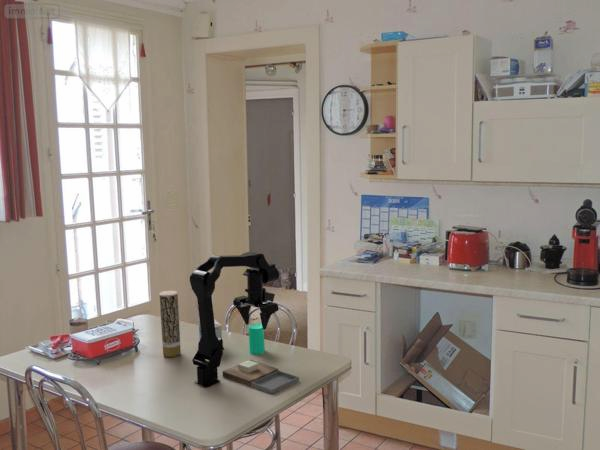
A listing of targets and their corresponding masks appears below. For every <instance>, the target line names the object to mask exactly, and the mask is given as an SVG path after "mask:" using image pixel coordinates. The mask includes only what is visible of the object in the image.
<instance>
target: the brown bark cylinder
mask: <svg viewBox="0 0 600 450" xmlns="http://www.w3.org/2000/svg"><path fill="white" fill-rule="evenodd" d="M178 293H179V292H178V291H177V290H164V291H160V292H159V307H160V323H161V324H160V326H161V340H162V341H161V344H162V355H163V356H164V357H165V358H174V357H178V356H180V355H181V351H182V350H181V348H182V347H181V334H180V333H181V331H180V330H181V329H180V314H179V296H178V295H179V294H178Z"/></svg>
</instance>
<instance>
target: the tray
mask: <svg viewBox="0 0 600 450" xmlns="http://www.w3.org/2000/svg"><path fill="white" fill-rule="evenodd" d="M299 382H300V377H299V376H297V375H294V374H291V373H288V372H286V371H285V372H284V371H281V370H279V369H278V371H276V372H274V373H271V374H269V375H267V376H264V377H262V378H260V379H258V380H255V381H253V382H251V386H250V387H251V388H255V389H257V390H258V391H262V392H265V393H268V394H271V395H274V394H276V393H277V392H279V391H281V390H284V389H286V388H288V387H290V386H293V385H294V384H296V383H299Z"/></svg>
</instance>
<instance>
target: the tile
mask: <svg viewBox="0 0 600 450" xmlns="http://www.w3.org/2000/svg"><path fill="white" fill-rule="evenodd" d="M249 360H250V359H249ZM249 360H246V361H243V362H240V363H238V364H237V365H238V369H239V370H241V371H244V372H247V373H249V372H252V371H254V370H257V369H258V363H255V362H252V361H249Z"/></svg>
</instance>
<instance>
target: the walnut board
mask: <svg viewBox="0 0 600 450" xmlns="http://www.w3.org/2000/svg"><path fill="white" fill-rule="evenodd" d="M249 361H252V362H255V363H258V369H257V370H254V371H252V372H249V373H247V372H244V371H241V370H239V369H238V364H237V365H234V366H232V367H229V368H227V369H225V370H222V377H224V378H225V379H229V380H232V381H234V382H237V383H239V384H243V385H245V386H247V387H251V382H253V381H255V380H258V379H260V378H262V377H264V376H267V375H269V374H271V373H274V372H276V371H278V370H279V368H278V367H274V366H271V365H268V364H265V363H262V362H260V361H256V360H254V359H249Z"/></svg>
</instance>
